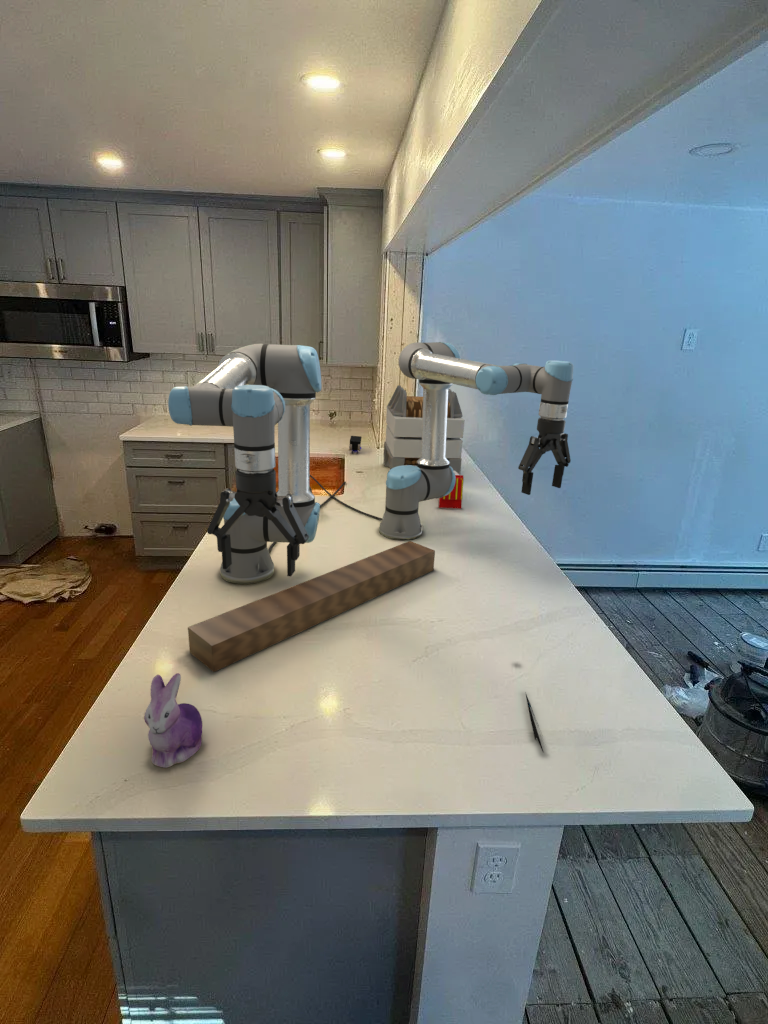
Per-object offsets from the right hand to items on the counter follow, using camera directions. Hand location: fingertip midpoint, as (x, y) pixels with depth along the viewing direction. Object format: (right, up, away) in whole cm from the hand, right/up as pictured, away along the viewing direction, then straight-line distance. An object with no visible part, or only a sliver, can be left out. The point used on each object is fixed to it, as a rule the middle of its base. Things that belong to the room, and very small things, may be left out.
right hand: (541, 490), depth 166 cm
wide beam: (-60, -31, -16) cm, 70 cm away
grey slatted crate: (-29, +12, +109) cm, 113 cm away
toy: (-20, -1, +74) cm, 77 cm away
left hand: (-71, -18, -51) cm, 90 cm away
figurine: (-82, -48, -66) cm, 116 cm away
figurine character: (-62, +27, +144) cm, 159 cm away
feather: (-17, -46, -51) cm, 70 cm away
